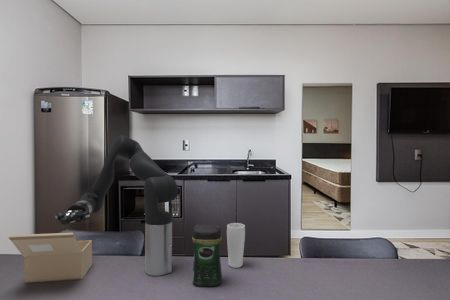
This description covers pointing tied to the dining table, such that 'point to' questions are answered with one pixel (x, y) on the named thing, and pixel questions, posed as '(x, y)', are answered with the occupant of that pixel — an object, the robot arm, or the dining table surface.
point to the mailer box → (58, 265)
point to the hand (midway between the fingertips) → (64, 222)
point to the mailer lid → (46, 244)
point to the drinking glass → (235, 244)
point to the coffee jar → (207, 255)
